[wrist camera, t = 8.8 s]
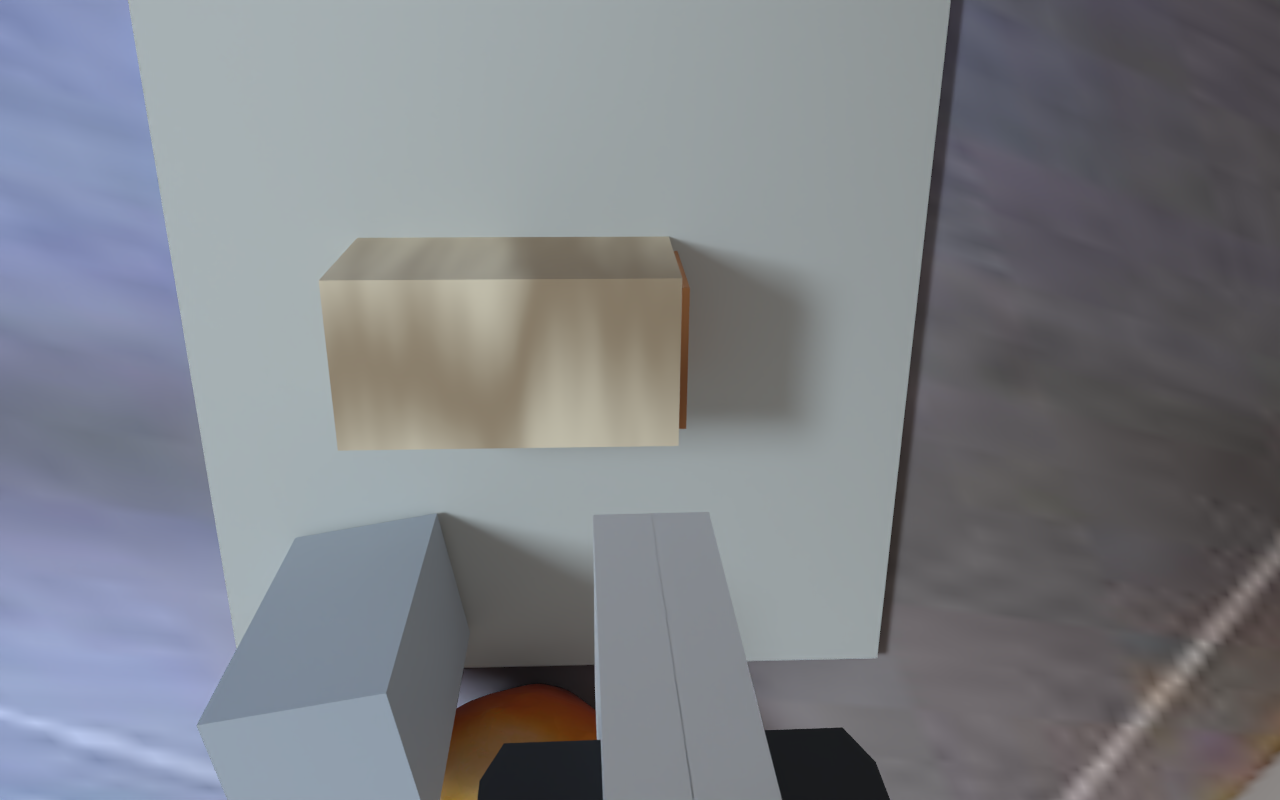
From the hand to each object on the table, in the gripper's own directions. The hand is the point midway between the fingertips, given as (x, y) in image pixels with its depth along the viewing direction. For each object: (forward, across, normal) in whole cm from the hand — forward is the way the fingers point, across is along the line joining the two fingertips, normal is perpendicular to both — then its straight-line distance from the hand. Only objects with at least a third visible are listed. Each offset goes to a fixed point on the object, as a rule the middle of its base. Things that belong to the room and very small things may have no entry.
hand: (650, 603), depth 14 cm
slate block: (+14, -6, -8) cm, 18 cm away
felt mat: (+14, -2, -2) cm, 15 cm away
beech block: (+12, +2, 0) cm, 12 cm away
